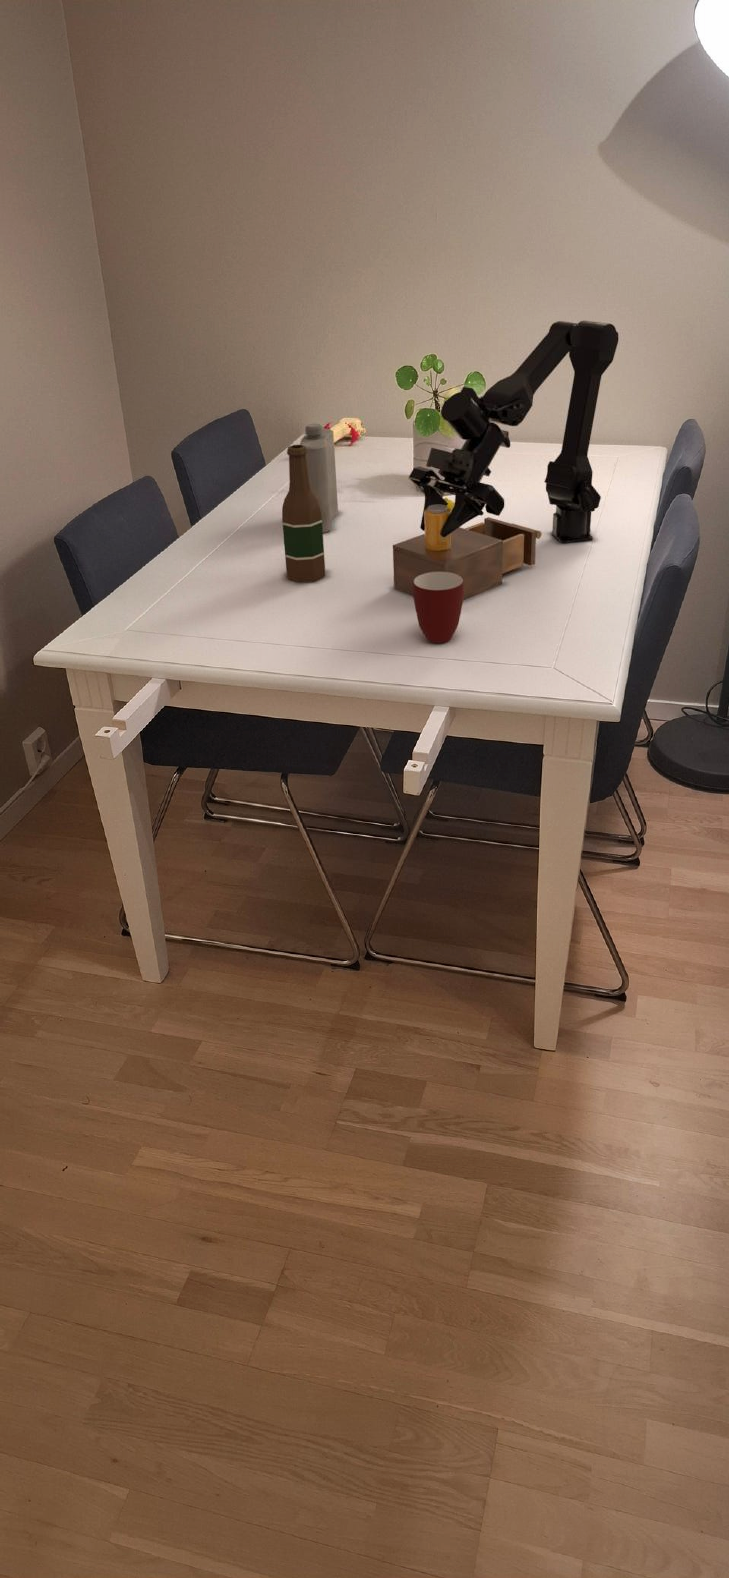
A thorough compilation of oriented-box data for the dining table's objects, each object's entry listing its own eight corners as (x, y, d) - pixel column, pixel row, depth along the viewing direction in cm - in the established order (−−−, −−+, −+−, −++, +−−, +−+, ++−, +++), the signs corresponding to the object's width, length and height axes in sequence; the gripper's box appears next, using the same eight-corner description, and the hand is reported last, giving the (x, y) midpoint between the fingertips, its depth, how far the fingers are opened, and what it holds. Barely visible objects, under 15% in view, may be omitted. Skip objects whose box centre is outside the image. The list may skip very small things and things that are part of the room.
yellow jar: (447, 540, 194) (447, 502, 191) (453, 549, 191) (453, 510, 187) (422, 543, 194) (421, 504, 190) (427, 552, 190) (427, 512, 186)
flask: (313, 510, 238) (306, 416, 228) (339, 510, 237) (334, 416, 227) (302, 534, 226) (294, 435, 215) (330, 533, 225) (323, 434, 214)
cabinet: (450, 566, 206) (450, 524, 202) (502, 584, 198) (503, 540, 193) (393, 588, 198) (392, 545, 194) (445, 607, 190) (445, 562, 185)
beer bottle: (332, 570, 207) (325, 441, 195) (318, 585, 201) (309, 453, 189) (295, 566, 210) (284, 439, 197) (279, 581, 204) (267, 451, 191)
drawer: (503, 543, 213) (504, 511, 210) (551, 557, 205) (552, 524, 202) (438, 568, 203) (437, 535, 200) (485, 584, 196) (485, 550, 192)
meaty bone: (333, 466, 271) (373, 432, 289) (330, 430, 266) (371, 398, 284) (298, 462, 275) (340, 429, 293) (294, 428, 270) (337, 396, 287)
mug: (418, 622, 185) (417, 565, 180) (466, 623, 184) (466, 566, 179) (411, 648, 176) (410, 590, 171) (461, 649, 175) (461, 590, 170)
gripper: (414, 419, 190) (370, 497, 190) (494, 437, 178) (447, 520, 178) (447, 455, 199) (404, 530, 198) (525, 474, 186) (479, 554, 186)
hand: (432, 532), depth 190 cm, fingers closed on yellow jar, 4 cm apart
